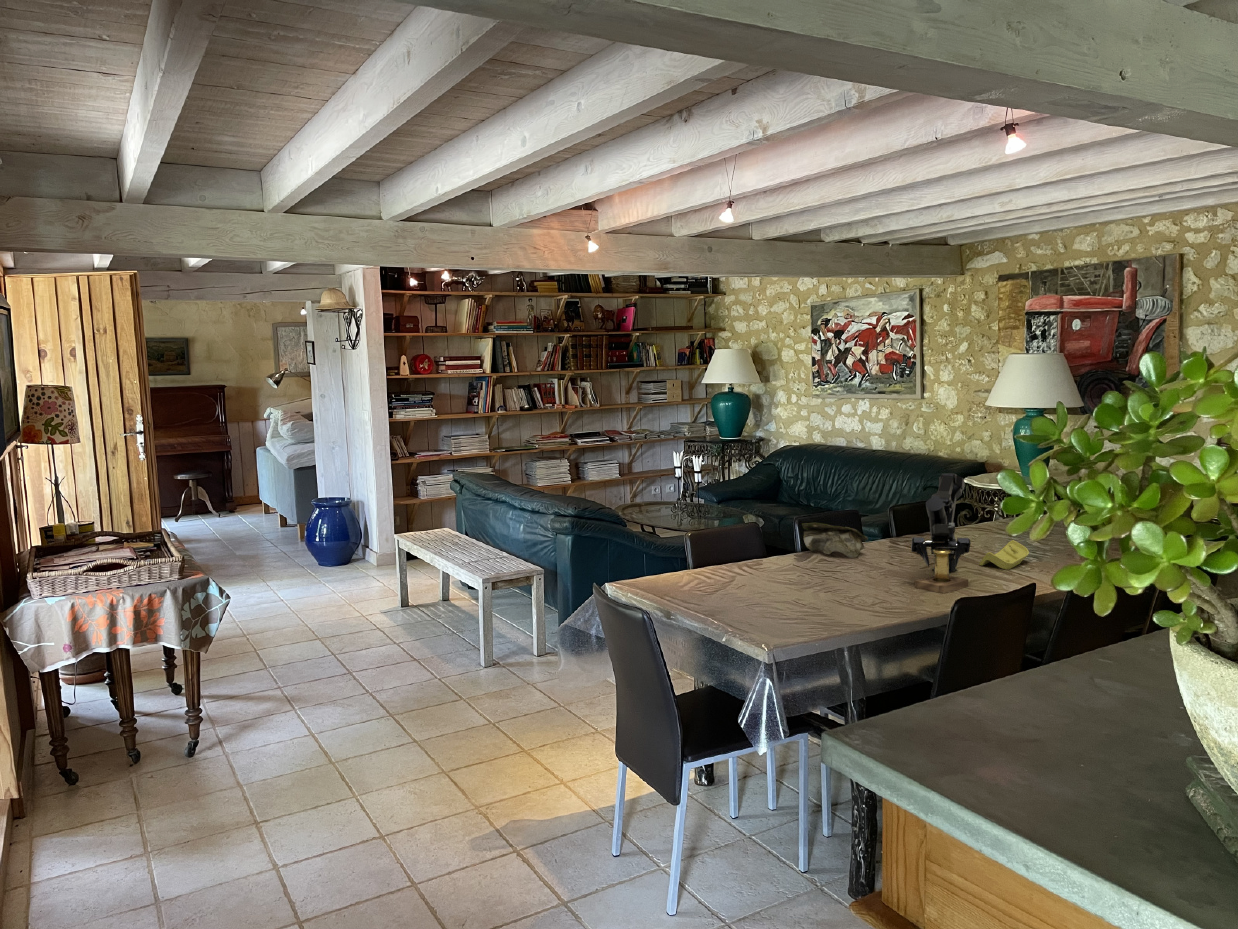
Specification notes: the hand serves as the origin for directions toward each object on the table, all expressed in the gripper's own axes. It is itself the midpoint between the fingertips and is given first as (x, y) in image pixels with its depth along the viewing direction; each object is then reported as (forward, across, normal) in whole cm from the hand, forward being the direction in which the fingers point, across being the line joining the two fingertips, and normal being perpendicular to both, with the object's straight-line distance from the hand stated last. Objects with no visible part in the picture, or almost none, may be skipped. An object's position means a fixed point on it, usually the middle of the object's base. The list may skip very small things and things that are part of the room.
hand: (942, 566), depth 300 cm
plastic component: (-22, +27, +33) cm, 48 cm away
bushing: (+4, 0, +6) cm, 8 cm away
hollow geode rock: (-32, -36, +44) cm, 65 cm away
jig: (+4, 0, +6) cm, 8 cm away
